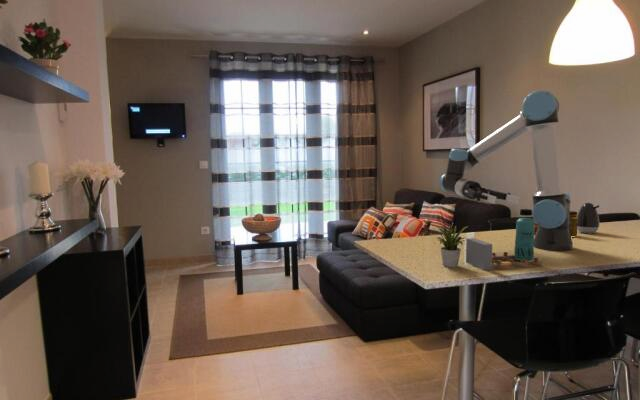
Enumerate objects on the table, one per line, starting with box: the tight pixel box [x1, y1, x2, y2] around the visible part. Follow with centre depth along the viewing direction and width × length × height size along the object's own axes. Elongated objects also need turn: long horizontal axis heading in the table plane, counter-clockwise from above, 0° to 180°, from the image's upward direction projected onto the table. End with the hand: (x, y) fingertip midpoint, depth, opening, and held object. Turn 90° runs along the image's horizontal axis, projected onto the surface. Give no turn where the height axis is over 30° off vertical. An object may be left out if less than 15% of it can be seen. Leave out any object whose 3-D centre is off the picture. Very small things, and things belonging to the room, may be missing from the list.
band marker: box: [492, 255, 511, 265], centre depth 162 cm, size 3×12×1 cm, turn 11°
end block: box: [465, 237, 493, 271], centre depth 160 cm, size 3×12×9 cm, turn 11°
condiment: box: [569, 210, 578, 236], centre depth 214 cm, size 7×8×12 cm
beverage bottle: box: [513, 208, 536, 262], centre depth 163 cm, size 6×7×20 cm
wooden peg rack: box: [492, 251, 543, 271], centre depth 163 cm, size 20×12×3 cm, turn 101°
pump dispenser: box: [577, 202, 600, 234], centre depth 222 cm, size 10×10×15 cm
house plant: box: [432, 222, 469, 268], centre depth 161 cm, size 14×14×16 cm
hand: (507, 200), depth 171 cm, fingers open, 13 cm apart
